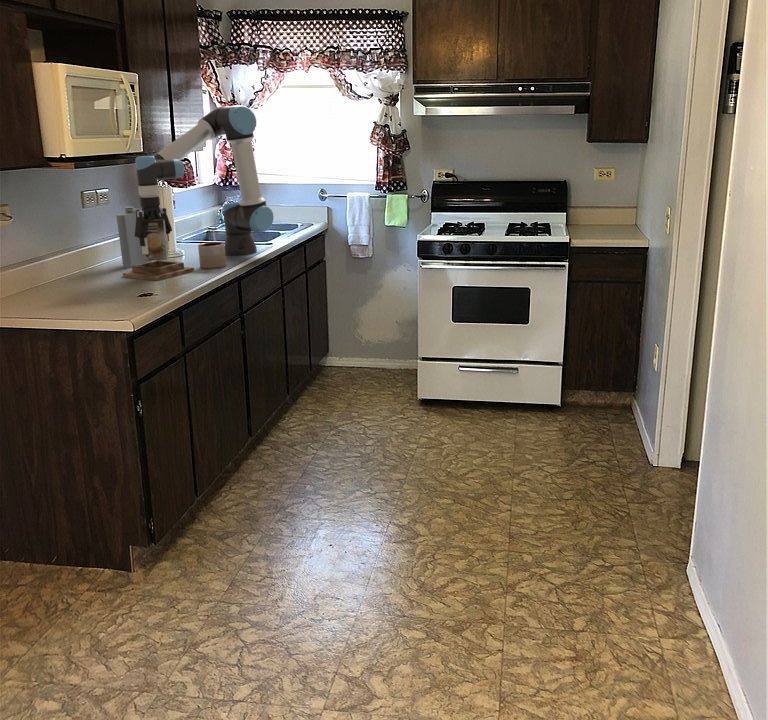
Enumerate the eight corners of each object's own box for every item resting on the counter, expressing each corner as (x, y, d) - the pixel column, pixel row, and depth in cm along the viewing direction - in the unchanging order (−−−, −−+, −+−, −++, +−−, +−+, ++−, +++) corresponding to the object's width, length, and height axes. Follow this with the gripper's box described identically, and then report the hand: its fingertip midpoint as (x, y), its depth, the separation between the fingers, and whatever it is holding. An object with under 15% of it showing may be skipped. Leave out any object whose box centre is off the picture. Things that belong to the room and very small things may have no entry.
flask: (144, 260, 359) (137, 204, 352) (153, 260, 358) (146, 204, 350) (120, 268, 344) (112, 209, 336) (129, 268, 342) (121, 209, 335)
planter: (220, 269, 332) (218, 246, 330) (195, 269, 335) (193, 246, 332) (230, 264, 343) (228, 241, 340) (206, 264, 345) (204, 242, 342)
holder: (160, 267, 340) (159, 258, 339) (194, 271, 330) (193, 261, 329) (122, 276, 324) (121, 267, 323) (157, 280, 314) (155, 270, 313)
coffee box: (144, 261, 322) (139, 221, 317) (146, 258, 328) (141, 219, 323) (167, 259, 323) (163, 219, 318) (169, 257, 329) (164, 217, 324)
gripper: (164, 193, 329) (170, 247, 335) (120, 199, 311) (127, 256, 317) (177, 193, 325) (183, 248, 331) (133, 199, 307) (140, 257, 313)
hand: (156, 251), depth 324 cm, fingers closed on coffee box, 10 cm apart
